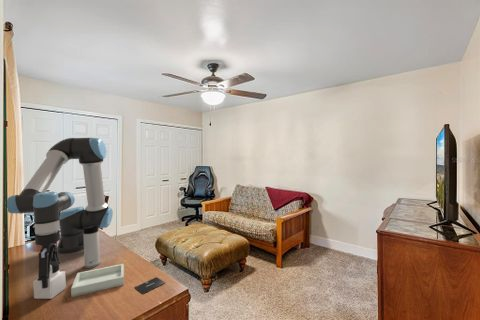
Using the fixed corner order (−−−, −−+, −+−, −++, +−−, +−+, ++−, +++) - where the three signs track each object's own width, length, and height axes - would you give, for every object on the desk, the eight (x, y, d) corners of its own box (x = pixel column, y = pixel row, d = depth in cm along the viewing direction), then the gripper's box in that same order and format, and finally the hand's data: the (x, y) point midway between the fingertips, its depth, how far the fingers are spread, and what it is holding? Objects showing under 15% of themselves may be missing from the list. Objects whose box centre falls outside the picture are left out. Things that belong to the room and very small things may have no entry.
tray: (77, 280, 102) (77, 272, 101) (124, 270, 109) (123, 263, 109) (71, 297, 90) (71, 288, 90) (123, 285, 98) (123, 276, 98)
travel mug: (93, 269, 112) (91, 227, 111) (81, 267, 113) (79, 227, 112) (103, 262, 118) (101, 223, 117) (92, 261, 119) (90, 223, 118)
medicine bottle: (49, 288, 96) (48, 259, 96) (66, 288, 96) (65, 259, 95) (33, 299, 89) (31, 268, 88) (51, 299, 89) (50, 268, 88)
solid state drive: (134, 288, 95) (134, 287, 95) (156, 278, 103) (156, 276, 103) (142, 295, 91) (142, 293, 91) (165, 284, 99) (165, 282, 99)
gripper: (44, 225, 100) (46, 277, 101) (24, 243, 80) (27, 307, 81) (65, 223, 103) (68, 272, 104) (51, 239, 83) (54, 301, 84)
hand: (50, 288), depth 92 cm, fingers closed on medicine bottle, 9 cm apart
